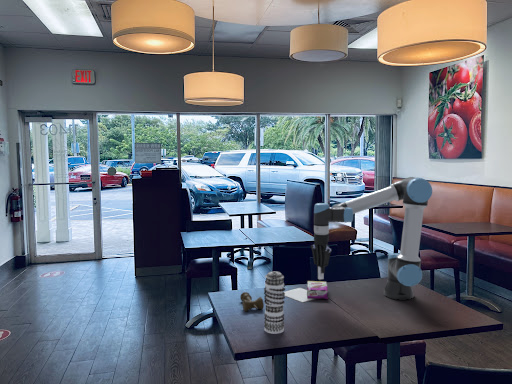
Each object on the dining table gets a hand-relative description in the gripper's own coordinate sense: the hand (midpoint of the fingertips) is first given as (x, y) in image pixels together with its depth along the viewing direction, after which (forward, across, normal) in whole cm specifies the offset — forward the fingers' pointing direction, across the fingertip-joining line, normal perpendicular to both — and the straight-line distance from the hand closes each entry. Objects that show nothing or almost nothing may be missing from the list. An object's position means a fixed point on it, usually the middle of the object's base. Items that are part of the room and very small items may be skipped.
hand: (320, 278), depth 212 cm
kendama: (+12, -16, -34) cm, 39 cm away
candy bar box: (+9, -3, +1) cm, 10 cm away
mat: (+12, -14, 0) cm, 18 cm away
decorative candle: (+12, +12, -42) cm, 45 cm away
